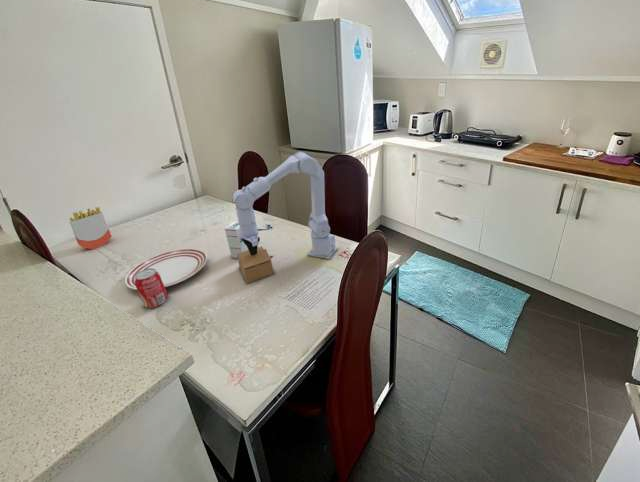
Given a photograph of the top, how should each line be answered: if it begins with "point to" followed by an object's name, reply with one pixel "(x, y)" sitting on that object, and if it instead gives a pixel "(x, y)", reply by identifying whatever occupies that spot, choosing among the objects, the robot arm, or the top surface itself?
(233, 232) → the syrup box
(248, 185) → the robot arm
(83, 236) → the french fries container
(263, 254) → the bin flap
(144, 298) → the soda can
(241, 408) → the top surface
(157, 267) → the dinner plate
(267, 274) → the bin
